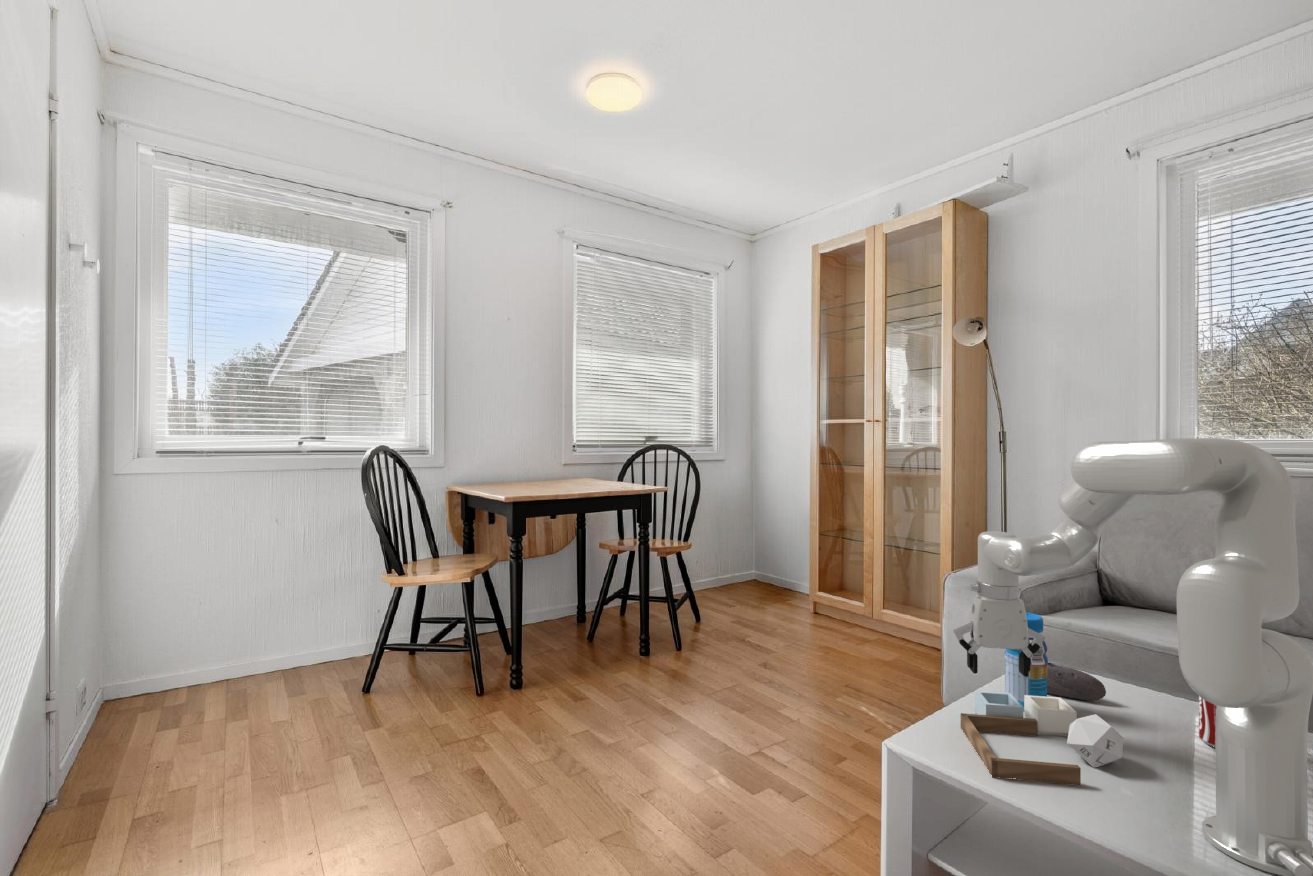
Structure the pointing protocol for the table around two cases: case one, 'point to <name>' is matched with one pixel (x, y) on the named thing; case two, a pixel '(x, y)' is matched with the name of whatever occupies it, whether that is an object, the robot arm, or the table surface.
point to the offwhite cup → (1049, 714)
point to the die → (1095, 740)
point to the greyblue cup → (997, 704)
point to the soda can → (1207, 721)
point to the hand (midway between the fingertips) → (998, 672)
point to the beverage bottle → (1038, 667)
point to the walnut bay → (1012, 766)
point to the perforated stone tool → (1073, 683)
